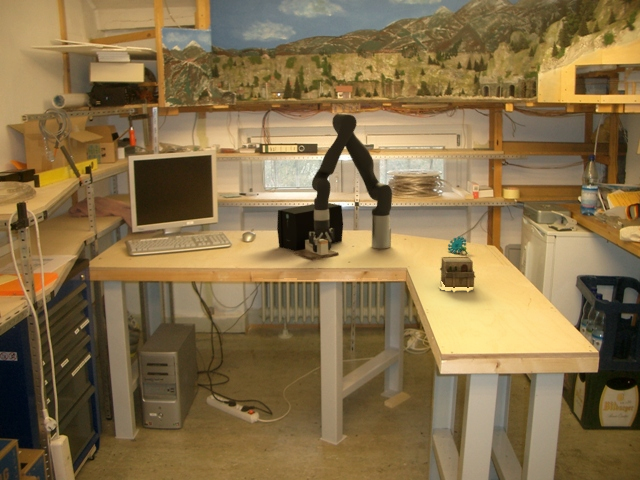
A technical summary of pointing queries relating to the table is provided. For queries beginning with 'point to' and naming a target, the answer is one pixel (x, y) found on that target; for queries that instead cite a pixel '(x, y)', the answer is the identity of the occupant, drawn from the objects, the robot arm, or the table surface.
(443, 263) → the miniature house
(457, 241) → the teal spiky round piece
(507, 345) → the table surface
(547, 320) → the table surface
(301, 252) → the ticket board
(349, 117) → the robot arm
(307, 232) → the uninterruptible power supply
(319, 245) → the orange-striped cream block
